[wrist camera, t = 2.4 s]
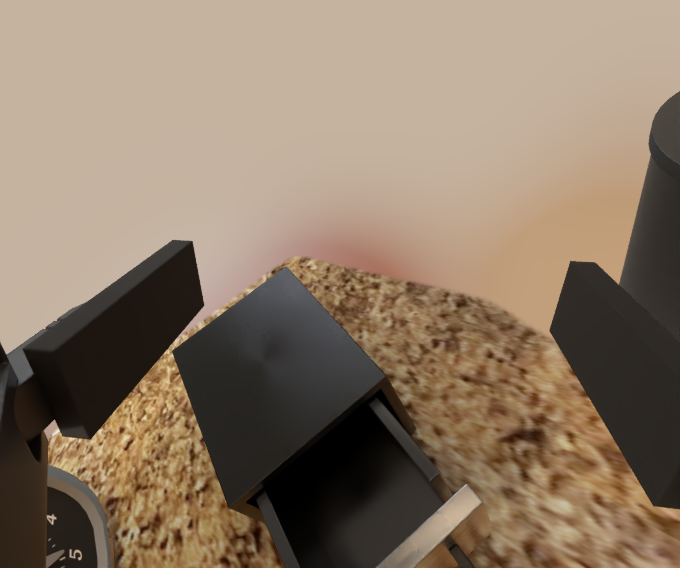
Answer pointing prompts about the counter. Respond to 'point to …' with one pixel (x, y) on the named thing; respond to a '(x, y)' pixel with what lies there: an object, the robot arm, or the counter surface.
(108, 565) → the alarm clock
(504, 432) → the counter surface
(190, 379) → the cabinet
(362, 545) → the drawer
